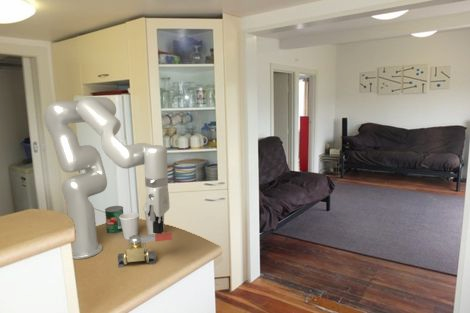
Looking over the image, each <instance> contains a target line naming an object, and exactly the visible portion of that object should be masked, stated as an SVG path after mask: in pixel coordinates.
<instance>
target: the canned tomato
mask: <svg viewBox="0 0 470 313" xmlns="http://www.w3.org/2000/svg"><path fill="white" fill-rule="evenodd" d="M104 212H105V225H106V233H107V234H109V235H118V234H121V233H123V230H122V225H121V221H120V218H119V217H120V216H121V215H122V214H124V207H123V206H122V205H113V206H111V205H110V206H108V207H105V209H104Z"/></svg>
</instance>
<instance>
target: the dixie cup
mask: <svg viewBox="0 0 470 313" xmlns="http://www.w3.org/2000/svg"><path fill="white" fill-rule="evenodd" d="M139 217H140V213H138V212H126V213H123V214H122V215H121V216H120V217H119V218H120V221H121V225H122V230H123V232H122V233H123V235H122V236H123V238H124V239H125V240H129V238H130V237H131V236H134V235H139V233H138V232H139V219H140V218H139Z"/></svg>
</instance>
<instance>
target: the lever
mask: <svg viewBox="0 0 470 313" xmlns="http://www.w3.org/2000/svg"><path fill="white" fill-rule="evenodd" d="M172 240H173V234H172V231H167V232H166V231H164V233H162V234H157V233H156V234H151V235H148V234H144V235H143V234H142V235H140V234H138V235H134V236H131V237H130V238H129V242H128V243H130V244H132V245H135V244H140V243H143V242H145V243H149V242H150V243H151V242H152V243H153V242H162V241H163V242H165V241H172Z"/></svg>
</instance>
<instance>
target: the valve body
mask: <svg viewBox="0 0 470 313" xmlns="http://www.w3.org/2000/svg"><path fill="white" fill-rule="evenodd" d="M156 259H157V256H156V250H150V248H147V246H146V242H143V243H140V244H135V245H132V244H130V242H128V245H127V246H126V250H123V253H118V255H117V263H118V264H117V268H124V267H125V266H126V265H128V264H129V263H132V262H134V263H135V262H143V261H146V264H149V265H156Z"/></svg>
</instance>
